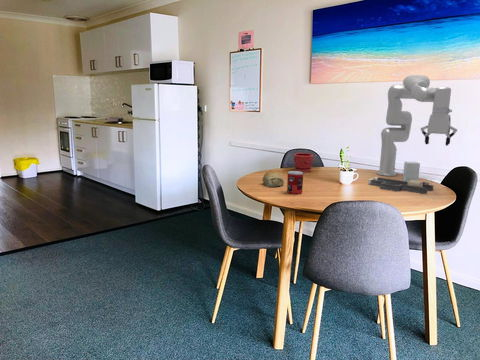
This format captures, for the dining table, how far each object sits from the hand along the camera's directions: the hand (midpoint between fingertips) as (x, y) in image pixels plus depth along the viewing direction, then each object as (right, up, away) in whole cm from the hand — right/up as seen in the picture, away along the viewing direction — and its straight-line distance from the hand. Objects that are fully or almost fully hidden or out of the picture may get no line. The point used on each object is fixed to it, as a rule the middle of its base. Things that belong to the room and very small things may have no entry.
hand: (436, 144), depth 196 cm
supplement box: (0, -20, +31) cm, 37 cm away
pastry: (-85, -22, +18) cm, 89 cm away
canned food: (-75, -25, 0) cm, 79 cm away
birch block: (-7, -24, +11) cm, 28 cm away
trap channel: (-12, -23, +17) cm, 31 cm away
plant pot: (-60, -13, +64) cm, 89 cm away
